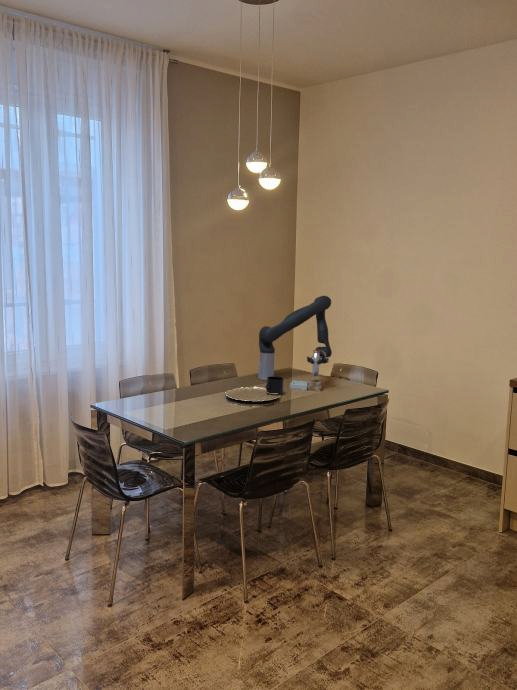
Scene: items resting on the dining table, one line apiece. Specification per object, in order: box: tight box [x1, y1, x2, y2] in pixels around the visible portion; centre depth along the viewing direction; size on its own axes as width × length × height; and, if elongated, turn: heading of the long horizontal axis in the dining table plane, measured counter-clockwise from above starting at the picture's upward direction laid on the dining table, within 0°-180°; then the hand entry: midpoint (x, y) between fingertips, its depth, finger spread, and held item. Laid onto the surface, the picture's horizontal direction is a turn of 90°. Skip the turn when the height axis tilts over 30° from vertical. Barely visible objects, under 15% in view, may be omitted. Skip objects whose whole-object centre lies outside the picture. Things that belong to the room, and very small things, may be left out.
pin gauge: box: [311, 349, 320, 377], centre depth 370 cm, size 4×4×15 cm
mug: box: [265, 375, 284, 395], centre depth 358 cm, size 9×12×9 cm
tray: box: [289, 380, 308, 391], centre depth 375 cm, size 10×10×3 cm
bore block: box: [306, 378, 323, 391], centre depth 373 cm, size 8×8×5 cm
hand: (315, 362), depth 368 cm, fingers closed on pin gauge, 3 cm apart
